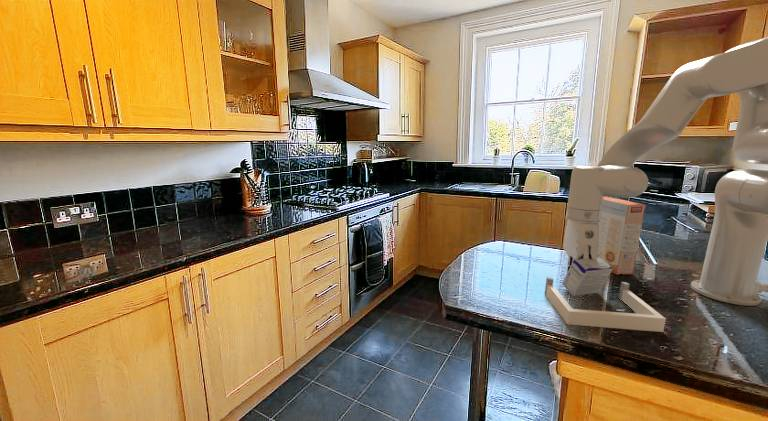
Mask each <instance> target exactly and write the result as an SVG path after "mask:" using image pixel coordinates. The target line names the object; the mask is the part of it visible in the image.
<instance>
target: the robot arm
mask: <svg viewBox="0 0 768 421" xmlns="http://www.w3.org/2000/svg"><path fill="white" fill-rule="evenodd" d="M670 76H671V77H669V79H668V80H667V82H666V83H665V85H664V87H662V89H661V91H660V92H659V93H658V95H657V96H656V97H655V99H654V100H653V102H652V103H651V105H650V106H649V108H648V109H647V110H646V112H645V113H644V114H643V116H642V117H641V119H640V120H639V121H638V122H637V123H636V124H635V125H633V126H632V127H631V128H630V129H629V130H628V131H626V132H625V133H624V134H623V135H622V136H621V137H619V138H618V139H617V140H616V141H615V142H614V143H613V144H612V145H611V146H610V147H609V149H608V150H607V151H606V152H605V154H604V155H603V157H601V159H600V161H599V162H598V164H597V165H577V166H575V167H573V169H572V171H571V175H570V176H571V177H570V183H569V192H568V199H567V205H566V214H565V220H566V226H565V230H564V236H563V245H562V248H563V250H564V252H566V255H567V270H566V271H567V272H566V274H567V273H568V270H569V268H570V266H571V264H572V262H573V260H575V259H589V258H592V260H597V254H598V244H599V224H598V223H599V222H600V216H601V210H602V204H603V197H604V196H607V197H613V198H619V199H620V198H621V199H622V198H623V199H630V198H631V199H632V198H635V197H638V196H640V195H642V194H643V193H644V192H645V191H646V190H647V188H648V186H649V178H648V176H647V174H646V173H645V172H644V171H643V170H641V169H640V168H637V167H635V166H634V167H633V165H634V164H635V163H636V162H637V160H639V159H640V158H641V157H642V156H644V155H645V154H646V153H648V152H650V151H652V150H654V149H655V148H656V149H657V147H660V146H662V145H665V144H667V143H669V142H671V141H673V140H675V139H677V138H678V137H679V136H680V135H682V133H683V131H684V130H685V129H686V127H687V126H688V125H689V123H690V122H691V120H693V118H694V116H696V114H697V112H698V111H699V110H700V109H701V107H702V106H703V105H704V103H705V102H706V101H707V100H708V99H710V98H716V97H722V96H728V95H732V94H735V93H737V96H738V97H739V113H738V118H737V123H736V127H735V133H734V138H733V142H732V148H731V149H732V150H731V151H732V154H733V156H734V158H736V160H738V161H740V162H742V163H743V162H744V163H749V164H757V165H768V36H766V37H762V38H758V39H755V40H751V41H748V42H745V43H742V44H738V45H737V46H734V47H731V48H730V49H728V50H727V51H724V52H721V53H718V54H714V55H711V56H707V57H704V58H701V59H697V60H694V61H690V62H688V63H685V64H684V65H682V66H680V67H679V68H678V69H677V70H675V72H673V74H672V75H670ZM767 243H768V170H763V169H755V168H750V169H749V168H747V169H745V168H742V169H736V170H733V171H730V172H727V173H726V174H724V175H723V176H721V178H720V179H719V180H718V181H717V183H716V186H715V189H714V216H713V223H712V227H711V231H710V235H709V239H708V243H707V247H706V252H705V257H704V260H703V261H704V262H703V266H702V270H701V273H700V274H701V275H700V279H696V280H695V279H694V280H692V281H691V283H690V289H691V290H693V291H694V292H696V293H698V294H700V295H702V296H704V297H706V298H710V299H713V300H715V301H719V302H724V303H727V304H733V305H737V306H750V307H751V306H758V305H761V303H762V297H761V296H760V295H759V294H760V293H762V292H764V293H768V283H767V284H766V283H764V284H762V283H761V282H760V281H758V280H757V279H758V276H759V273H760V270H761V269H760V268H761V265H762V260H763V258H764V254H765V249H766V246H767Z"/></svg>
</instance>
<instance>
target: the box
mask: <svg viewBox="0 0 768 421" xmlns="http://www.w3.org/2000/svg"><path fill="white" fill-rule="evenodd" d="M612 269H613V268H612V267H611V266H610V265H609V264H607V263H606V262H605V261H604V260H602V259H601V258H599V257H597V260H592V258H589V259H575V260H573V262H572V264H571V266H570V268H569V270H568V273H567V272H566V275H565V277H564V279H563V281H562V283H561V284H562V286H563V287H564V288H565V289H566V290H567V291H568V292H569V294H571V296H572V297H576V296H577V297H578V296H585V295H591V294H599V293H600V292H601V289H602V288H603V286H604V285H605V284H606V282H607V279H608V278H609V276H610V275H611V271H612Z"/></svg>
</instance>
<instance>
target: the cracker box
mask: <svg viewBox="0 0 768 421" xmlns="http://www.w3.org/2000/svg"><path fill="white" fill-rule="evenodd" d="M646 206H647V205H646V204H643V203H638V202H635V201H634V202H633V201H630V200H625V199H622V198H621V199H620V198H617V197H612V196H607V195H604V197H603V204H602V210H601V216H600V222H599V223H598V224H599V244H598V254H597V257H599V258H601V259H602V260H604V261H605V262H606V263H607V264H609V265H610V266H611V267H612V268H613V269H612V271H611V273H612V274H613V273H614V274H613V275H615V274H616V275H617V276H618V275H620V274H622V275H634V270H635V266H636V260H637V254H638V251H639V250H638V248H639V244H640V237H641V234H642V233H641V232H642V227H643V223H644V215H645V211H646ZM611 273H610V274H611ZM620 276H621V275H620Z"/></svg>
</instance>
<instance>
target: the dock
mask: <svg viewBox="0 0 768 421" xmlns="http://www.w3.org/2000/svg"><path fill="white" fill-rule="evenodd" d="M630 286H631V285H630V283H629V282H626V281H621V282H620V287H619V294H618V298H619V299H620V300H619V299H618V300H619V301H621V300H622V301H623V302H624V303H625V304H627V305H628V306H629V307H630V308H631V309H632V310H633V311H634V312H633V311H632V310H631V309H630V308H629V307H628V306H627V307H628V308H629V309H630V310H631V311H632V312H633V313H630V312H619V311H606V310H595V309H594V310H592V309H579V308H572V306H571V304H569V302H568V301H567V300H566V299H565V298H564V296H563V295H562V294H561V293H560V292H559V290H558V289H557V288H556V287H555V286H554V278H553V277H549V276H547V277H546V280H545V288H544V294H545V296H546V297H547V299H548V300H549V301H550V303H551V304H552V305H553V307H554V309H556V311H557V313H558V314H559V315H560V317H561V318H562V319H563V321H564V322H565V324H566V325H572V326H573V325H574V326H584V327H585V326H586V327H597V328H608V329H621V330H632V331H644V332H647V331H648V332H658V333H663V332H664V329H665V324H666V321H667V318H666V317H665V316H663V315H662V314H660V313H659V312H658V311H657V310H655V309H654V308H653V307H651V306H650V305H649V304H648V303H646V302H645V301H644V300H643V299H642V298H640V297H638V296H637V295H636V294H635V293H633V291H631V290H630ZM622 301H621V302H622ZM623 302H622V303H623ZM624 303H623V304H624ZM625 304H624V305H625Z"/></svg>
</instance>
